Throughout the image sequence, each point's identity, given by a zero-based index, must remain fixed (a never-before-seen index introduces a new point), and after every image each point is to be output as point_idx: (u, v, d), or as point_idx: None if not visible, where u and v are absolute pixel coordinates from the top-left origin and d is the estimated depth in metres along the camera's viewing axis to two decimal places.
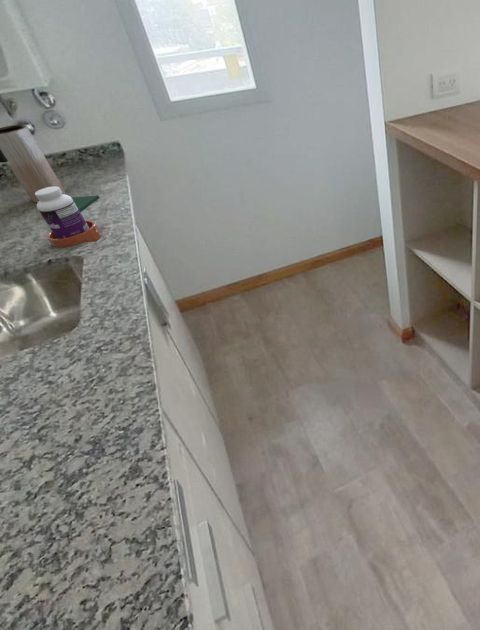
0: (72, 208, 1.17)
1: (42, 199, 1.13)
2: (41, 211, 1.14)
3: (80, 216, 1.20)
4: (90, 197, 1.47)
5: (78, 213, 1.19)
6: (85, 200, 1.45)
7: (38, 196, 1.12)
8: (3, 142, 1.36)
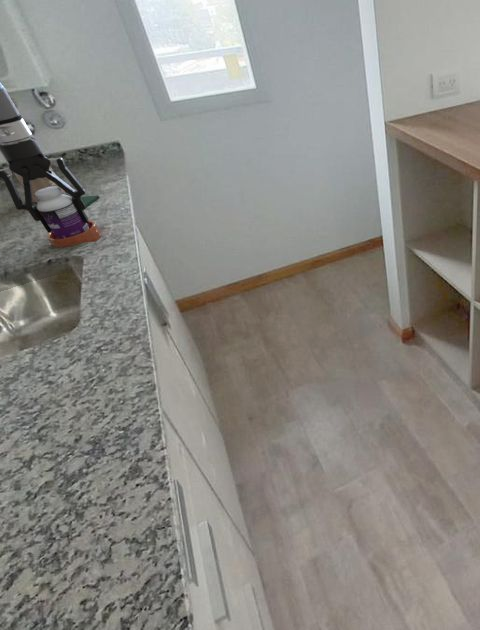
0: (72, 208, 1.17)
1: (41, 199, 1.13)
2: (41, 211, 1.14)
3: (80, 216, 1.20)
4: (90, 197, 1.47)
5: (78, 213, 1.19)
6: (85, 200, 1.45)
7: (38, 196, 1.12)
8: None
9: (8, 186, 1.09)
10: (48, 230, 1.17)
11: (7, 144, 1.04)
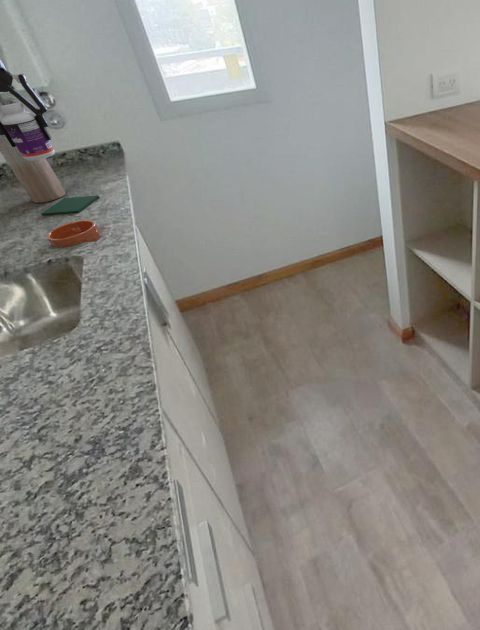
0: (35, 124, 1.26)
1: (5, 113, 1.22)
2: (4, 124, 1.22)
3: (42, 133, 1.28)
4: (90, 197, 1.47)
5: (40, 130, 1.28)
6: (85, 200, 1.45)
7: (1, 110, 1.21)
8: (3, 142, 1.36)
9: None
10: (12, 145, 1.26)
11: None
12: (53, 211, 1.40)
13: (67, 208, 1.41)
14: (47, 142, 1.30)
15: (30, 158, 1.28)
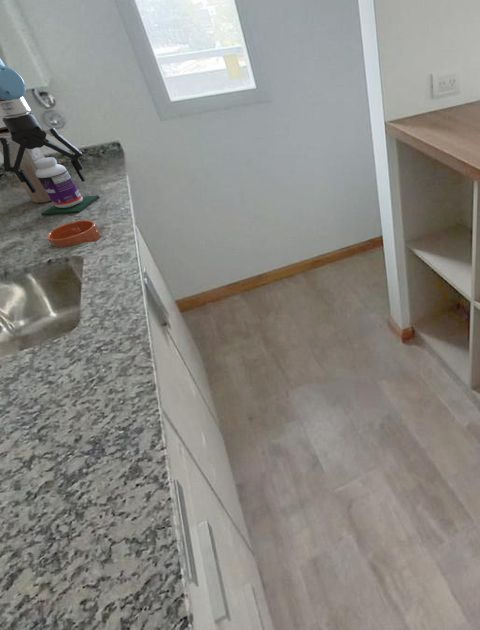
0: (66, 175, 1.38)
1: (39, 167, 1.34)
2: (39, 177, 1.34)
3: (72, 183, 1.40)
4: (90, 197, 1.47)
5: (71, 180, 1.40)
6: (85, 200, 1.45)
7: (36, 164, 1.33)
8: None
9: (4, 151, 1.28)
10: (32, 191, 1.36)
11: (10, 117, 1.24)
12: (53, 211, 1.40)
13: (67, 208, 1.41)
14: (76, 191, 1.42)
15: (61, 206, 1.40)
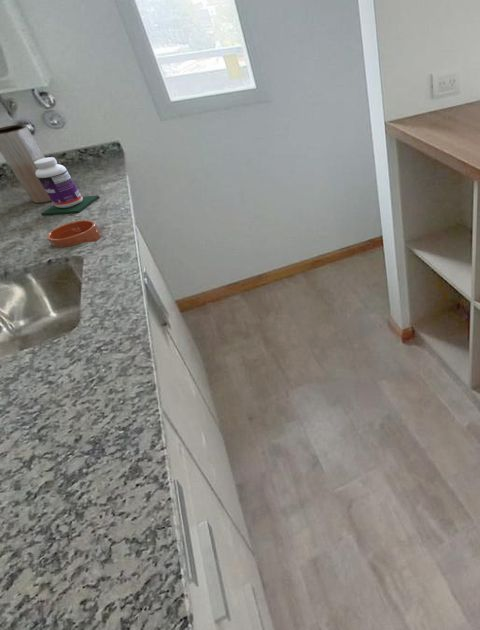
0: (66, 175, 1.38)
1: (40, 167, 1.34)
2: (39, 177, 1.34)
3: (72, 183, 1.40)
4: (90, 197, 1.47)
5: (71, 180, 1.40)
6: (85, 200, 1.45)
7: (36, 164, 1.33)
8: (3, 142, 1.36)
9: None
10: None
11: None
12: (53, 211, 1.40)
13: (67, 208, 1.41)
14: (76, 191, 1.42)
15: (61, 206, 1.40)
